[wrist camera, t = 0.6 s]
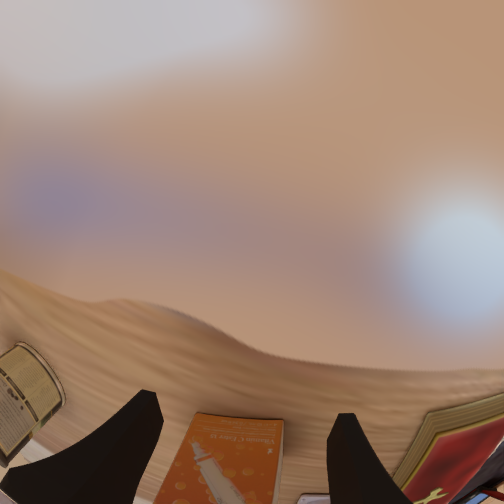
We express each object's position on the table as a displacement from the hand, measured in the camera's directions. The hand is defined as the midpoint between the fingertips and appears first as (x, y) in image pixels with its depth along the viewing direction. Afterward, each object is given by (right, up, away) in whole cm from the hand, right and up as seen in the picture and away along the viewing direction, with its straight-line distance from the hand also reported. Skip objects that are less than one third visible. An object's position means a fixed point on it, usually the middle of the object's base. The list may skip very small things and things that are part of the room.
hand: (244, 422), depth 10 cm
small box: (-1, -11, +13) cm, 17 cm away
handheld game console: (+44, -39, +14) cm, 60 cm away
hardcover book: (+23, -18, +12) cm, 31 cm away
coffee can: (-27, -9, +17) cm, 34 cm away
